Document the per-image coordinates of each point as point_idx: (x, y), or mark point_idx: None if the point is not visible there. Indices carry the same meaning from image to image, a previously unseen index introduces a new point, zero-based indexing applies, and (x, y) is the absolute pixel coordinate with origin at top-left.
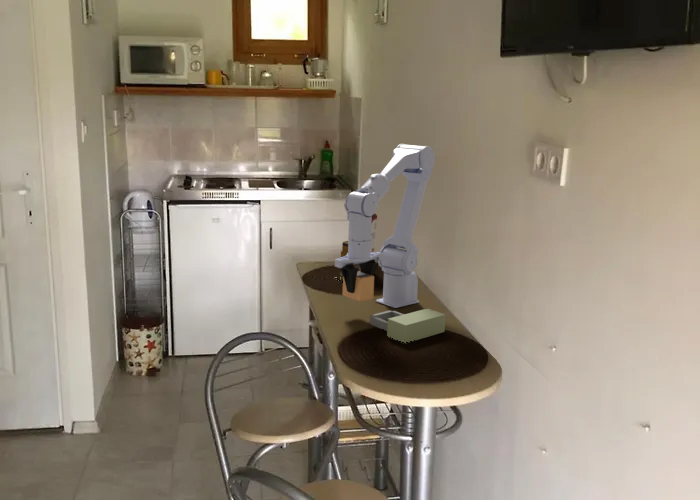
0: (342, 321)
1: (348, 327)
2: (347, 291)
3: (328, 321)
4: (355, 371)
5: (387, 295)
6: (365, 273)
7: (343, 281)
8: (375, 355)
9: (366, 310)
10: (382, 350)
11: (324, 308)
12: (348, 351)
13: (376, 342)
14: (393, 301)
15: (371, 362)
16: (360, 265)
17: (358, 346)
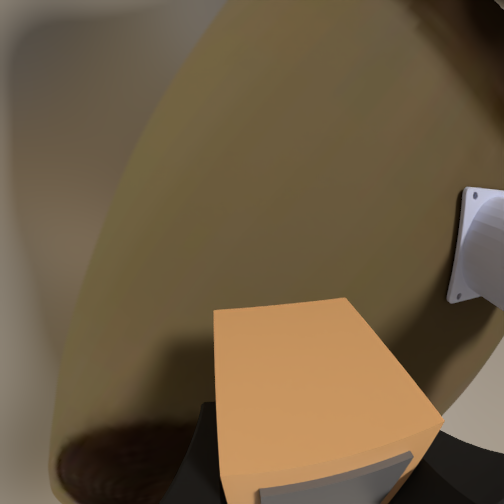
0: (161, 329)
1: (147, 387)
2: (202, 408)
3: (104, 297)
4: (69, 496)
5: (485, 265)
6: (392, 496)
7: (217, 398)
8: (126, 495)
9: (362, 259)
10: (152, 493)
11: (202, 107)
12: (79, 467)
13: (164, 475)
14: (472, 281)
15: (106, 500)
16: (454, 502)
17: (110, 468)
